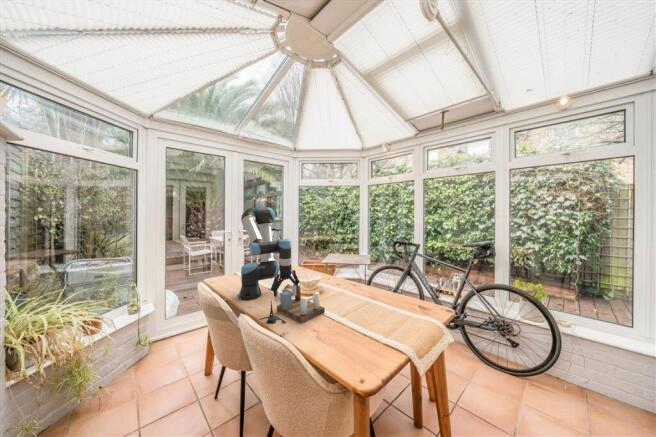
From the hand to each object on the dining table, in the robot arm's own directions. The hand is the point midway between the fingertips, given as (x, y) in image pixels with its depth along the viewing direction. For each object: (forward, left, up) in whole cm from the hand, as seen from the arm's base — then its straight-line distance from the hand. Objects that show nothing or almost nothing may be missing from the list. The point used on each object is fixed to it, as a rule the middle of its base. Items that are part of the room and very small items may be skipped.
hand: (285, 298), depth 148 cm
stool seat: (+8, +5, -8) cm, 12 cm away
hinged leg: (+17, +5, -4) cm, 18 cm away
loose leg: (0, 0, -8) cm, 8 cm away
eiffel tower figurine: (+6, -14, -8) cm, 17 cm away
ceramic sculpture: (-19, +15, -8) cm, 25 cm away
